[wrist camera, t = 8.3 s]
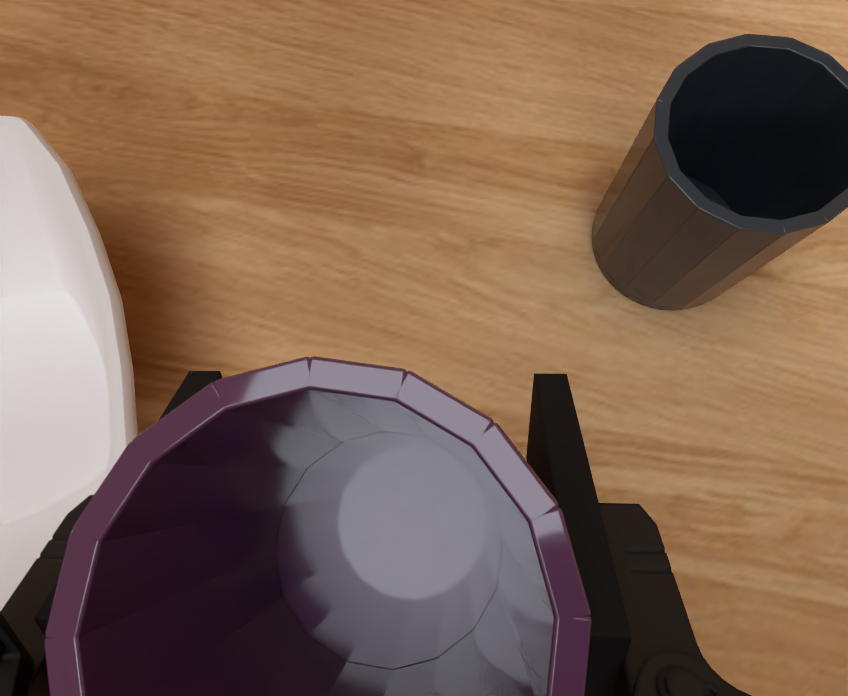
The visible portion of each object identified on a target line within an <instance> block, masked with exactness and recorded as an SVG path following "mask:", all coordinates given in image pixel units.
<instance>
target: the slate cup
mask: <svg viewBox="0 0 848 696" xmlns="http://www.w3.org/2000/svg"><path fill="white" fill-rule="evenodd" d="M847 207H848V71H847V70H846V69H845V68H843V67H842V66H841V65H840V64H839V63H838V62H837V61H836V60H835V59H834V58H833V57H832V56H830V55H829V54H827V53H825V52H823V51H820V50H818V49H816V48H814V47H811V46H809V45H807V44H805V43H802V42H800V41H798V40H796V39H793V38H789V37H779V36H768V35H756V34H744V35H740V36H737V37H733V38H729V39H725V40H721V41H717V42H713V43H710V44H708V45H706V46H704V47H703V48H702V49H700V50H699V51H697V52H696V53H695V54H693V55H692V56H691V57H689V58H688V59H686V60H685V61H684V62H682V63H681V64H680V65H678V66H677V67H676V68H675V69H674V71H673V72H672V74H671V76H670V78H669V79H668V81H667V83H666V84H665V86H664V88H663V90H662V91H661V93H660V95H659V97H658V98H657V100H656V102H655V104H654V106H653V108H652V109H651V111H650V113H649V115H648V117H647V119H646V120H645V122H644V124H643V126H642V128H641V130H640V132H639V133H638V135H637V137H636V139H635V141H634V143H633V144H632V146H631V148H630V150H629V152H628V154H627V155H626V157H625V159H624V161H623V163H622V165H621V167H620V168H619V170H618V172H617V174H616V176H615V178H614V179H613V181H612V183H611V185H610V187H609V189H608V191H607V192H606V194H605V196H604V198H603V200H602V202H601V203H600V205H599V207H598V209H597V212H596V215H595V218H594V222H593V228H592V244H593V250H594V254H595V258H596V260H597V263H598V265H599V267H600V269H601V271H602V272H603V274H604V275H605V277H606V278H607V279H608V281H609V282H610V283H611V284H612V285H613V286H614V287H615V288H616V289H617V290H618V291H620V292H621V293H622V294H623V295H625V296H626V297H628V298H630V299H631V300H633V301H635V302H637V303H639V304H642V305H645V306H648V307H651V308H656V309H661V310H682V309H687V308H692V307H695V306H698V305H701V304H703V303H705V302H708V301H711V300H713V299H714V298H716V297H717V296H719V295H720V294H722V293H723V292H725V291H726V290H728V289H729V288H731V287H732V286H734V285H735V284H737V283H738V282H740V281H741V280H743V279H744V278H746V277H747V276H749V275H750V274H752V273H753V272H755V271H756V270H758V269H759V268H761V267H762V266H764V265H765V264H767V263H768V262H770V261H771V260H773V259H774V258H776V257H777V256H779V255H780V254H782V253H783V252H785V251H786V250H788V249H789V248H791V247H792V246H794V245H795V244H797V243H798V242H800V241H801V240H803V239H804V238H806V237H807V236H808V235H810V234H811V233H813V232H814V231H816V230H817V229H819V228H820V227H822V226H823V225H825V224H826V223H828V222H829V221H831V220H832V219H833V218H834V217H836V216H837V215H838V214H840V213H841V212H842V211H843V210H845V209H846V208H847Z"/></svg>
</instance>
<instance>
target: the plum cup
mask: <svg viewBox="0 0 848 696" xmlns="http://www.w3.org/2000/svg"><path fill="white" fill-rule="evenodd" d="M132 441H133V442H130V443H129V444H128V445H127V447H126V448H125V450H124V451H123V453H122V454H121V456H120V457H119V459H118V460H117V462H116V463H115V465H114V466H113V468H112V469H111V471H110V472H109V474H108V475H107V477H106V478H105V480H104V481H103V483H102V484H101V486H100V487H99V488H98V490H97V491H96V493H95V494H94V496H93V497H92V499H91V500H90V502H89V503H88V505H87V506H86V508H85V509H84V511H83V512H82V514H81V515H80V517H79V518H78V520H77V521H76V523H75V524H74V526H73V531H71V533H70V535H69V539H68V543H67V547H66V551H65V555H64V559H63V563H62V567H61V571H60V575H59V579H58V583H57V587H56V591H55V595H54V599H53V603H52V607H51V611H50V615H49V619H48V623H47V627H46V631H45V637H46V639H45V641H44V647H45V656H46V665H47V675H48V684H49V693H50V696H585V692H586V681H587V669H588V658H589V647H590V636H591V625H592V620H591V617H590V615H591V609H590V606H589V602H588V599H587V596H586V592H585V589H584V585H583V582H582V578H581V575H580V571H579V568H578V564H577V561H576V557H575V554H574V550H573V547H572V544H571V540H570V537H569V533H568V530H567V526H566V523H565V519H564V516H563V512H562V510H561V508H560V507H558V506H559V505H558V502H557V501H556V499H555V498H554V497H553V495H552V494H551V493H550V491H549V490H548V489H547V488H546V486H545V485H544V484H543V482H542V481H541V480H540V478H539V477H538V476H537V475H536V473H535V472H534V471H533V469H532V468H531V467H530V465H529V464H528V463H527V461H526V460H525V459H524V458H523V456H522V455H521V454H520V452H519V451H518V450H517V448H516V447H515V446H514V445H513V443H512V442H511V441H510V439H509V438H508V437H507V435H506V434H505V433H504V432H503V430H502V429H501V428H500V426H499V425H498V424H497V423H495V422H494V423H493V420H492V419H491V418H490V417H488V416H486V415H485V414H483V413H481V412H480V411H478V410H476V409H475V408H473V407H471V406H469V405H468V404H466V403H464V402H463V401H461V400H459V399H457V398H456V397H454V396H452V395H451V394H449V393H447V392H446V391H444V390H442V389H440V388H439V387H437V386H435V385H434V384H432V383H430V382H428V381H427V380H425V379H423V378H422V377H420V376H418V375H417V374H415V373H413V372H411V371H406V370H405V369H402V368H395V367H387V366H380V365H373V364H366V363H359V362H351V361H344V360H337V359H330V358H322V357H315V356H314V357H311V358H310V357H303V358H299V359H295V360H291V361H288V362H284V363H280V364H276V365H272V366H268V367H264V368H260V369H256V370H252V371H249V372H245V373H241V374H237V375H233V376H229V377H225V378H221V379H218V380H216V381H215V382H212V383H210V384H209V385H207V386H206V387H204V388H203V389H202V390H200V391H199V392H197V393H196V394H195V395H193V396H192V397H190V398H189V399H188V400H186V401H185V402H184V403H182V404H181V405H179V406H178V407H177V408H175V409H174V410H172V411H171V412H170V413H168V414H167V415H165V416H164V417H163V418H161V419H160V420H158V421H157V422H156V423H154V424H153V425H152V426H150V427H149V428H147V429H146V430H145V431H143V432H142V433H140V434H139V435H138V436H136V437H135V438H134V439H133V440H132Z"/></svg>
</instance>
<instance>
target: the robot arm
mask: <svg viewBox="0 0 848 696" xmlns="http://www.w3.org/2000/svg"><path fill="white" fill-rule="evenodd" d="M221 378H222V377H221V373H220V371H189V373H188V374H187V376H186V378H185V379H184V381H183V382H182V384H181V386H180V387H179V389H178V390H177V392H176V394H175V395H174V397H173V398H172V400H171V401H170V403H169V405H168V406H167V408H166V409H165V411H164V413H163V414H162V416H161V417H160V419H161V418H163V417H164V416H165V415H167V414H168V413H170V412H171V411H172V410H174V409H175V408H177V407H178V406H179V405H181V404H182V403H184V402H185V401H186V400H188V399H189V398H190V397H192V396H193V395H195V394H196V393H197V392H199V391H200V390H202V389H203V388H204V387H206V386H207V385H209V384H210V383H212V382H215V381H216V380H218V379H221ZM160 419H159V420H160ZM526 459H527V463H528V464H529V465H530V467H531V468H532V469H533V471H534V472H535V473H536V475H537V476H538V477H539V478H540V480H541V481H542V482H543V484H544V485H545V486H546V488H547V489H548V490H549V491H550V493H551V494H552V495H553V497H554V498H555V499H556V501H557V502H558V505H559V506H558V507H560V508H561V510H562V512H563V516H564V519H565V523H566V526H567V530H568V533H569V537H570V540H571V544H572V547H573V550H574V554H575V557H576V561H577V564H578V568H579V571H580V575H581V578H582V582H583V585H584V589H585V592H586V596H587V599H588V602H589V606H590V609H591V615H590V617H591V620H592V625H591V636H590V647H589V658H588V669H587V681H586V692H585V696H751V695H749V694H747V693H745V692H742V691H740V690H738V689H736V688H735V687H733V686H732V685H730V684H729V683H727V682H726V681H724V680H723V679H722V678H721V677H720V676H719V675H718V674H717V673H716V672H715V671H714V670H713V669H712V668H711V667H710V666H709V664H708V663H707V662H706V660H705V659H704V658H703V656H702V654H701V652H700V649H699V647H698V645H697V643H696V640H695V637H694V634H693V631H692V628H691V625H690V622H689V619H688V616H687V613H686V610H685V607H684V604H683V601H682V598H681V595H680V592H679V589H678V586H677V584H676V581H675V578H674V575H673V573H672V572H671V566H670V563H669V560H668V557H667V554H666V553H665V551H664V549H665V548H664V545H663V542H662V539H661V536H660V533H659V530H658V527H657V525H656V523H655V522H654V521H653V520H652V519H651V517H650V516H649V515H648V514H647V513H646V512H645V510H644V509H643V508H642V507H641V506H640V504H619V503H598V499H597V495H596V491H595V486H594V482H593V478H592V474H591V470H590V466H589V462H588V458H587V454H586V450H585V446H584V442H583V438H582V434H581V430H580V426H579V422H578V418H577V414H576V410H575V406H574V402H573V398H572V394H571V390H570V386H569V382H568V378H567V374H534V381H533V392H532V403H531V414H530V425H529V435H528V446H527V457H526ZM93 496H94V495H89V496H88V497H87V498H86V499H85V500H83V501H82V502H81V503H80V504H79V505H77V506H76V507H75V508H74V509H73V510H71V511H70V512H69V513H68V514H67V515H66V517H65V518H64V520H63V521H62V522H61V524H60V525H59V527H58V528H57V530H56V531H55V533H54V534H53V536H52V537H53V538H52V540H49V541H48V543H47V544H46V546H45V547H44V549H43V550H42V552H41V553H40V558H37V559H36V560H35V562H34V563H33V565H32V566H31V568H30V569H29V571H28V572H27V574H26V575H25V576H24V578H23V579H22V581H21V582H20V584H19V585H18V587H17V588H16V590H15V591H14V593H13V594H12V595H11V597H10V598H9V600H8V601H7V603H6V604H5V606H4V607H3V609H2V610H1V611H0V696H50V693H49V684H48V675H47V665H46V656H45V647H44V641H45V639H46V637H45V631H46V627H47V623H48V619H49V615H50V611H51V607H52V603H53V599H54V595H55V591H56V587H57V583H58V579H59V575H60V571H61V567H62V563H63V559H64V555H65V551H66V547H67V543H68V539H69V535H70V533H71V531H73V526H74V524H75V523H76V521H77V520H78V518H79V517H80V515H81V514H82V512H83V511H84V509H85V508H86V506H87V505H88V503H89V502H90V500H91V499H92V497H93Z"/></svg>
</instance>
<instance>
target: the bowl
mask: <svg viewBox="0 0 848 696" xmlns="http://www.w3.org/2000/svg"><path fill="white" fill-rule="evenodd" d="M136 436H138V433H137V417H136V402H135V387H134V371H133V365H132V359H131V353H130V346H129V340H128V334H127V328H126V321H125V315H124V309H123V303H122V298H121V295H120V292H119V289H118V286H117V283H116V280H115V277H114V274H113V271H112V268H111V265H110V262H109V259H108V256H107V253H106V250H105V247H104V244H103V241H102V238H101V235H100V232H99V230H98V228H97V226H96V224H95V221H94V219H93V217H92V215H91V213H90V210H89V208H88V206H87V204H86V201H85V199H84V197H83V195H82V193H81V190H80V188H79V186H78V184H77V182H76V179H75V177H74V175H73V173H72V171H71V170H70V168H69V167H68V166H67V165H66V163H65V162H64V161H63V160H62V159H61V157H60V156H59V155H58V154H57V152H56V151H55V150H54V149H53V147H52V146H51V145H50V144H49V142H48V141H47V140H46V139H45V137H44V136H43V135H42V134H41V133H40V131H39V130H38V129H37V128H36V127H35V126H34V125H32V124H31V123H30V122H29V121H27V120H26V119H23V118H19V117H13V116H0V611H1V610H2V609H3V607H4V606H5V604H6V603H7V601H8V600H9V598H10V597H11V595H12V594H13V593H14V591H15V590H16V588H17V587H18V585H19V584H20V582H21V581H22V579H23V578H24V576H25V575H26V574H27V572H28V571H29V569H30V568H31V566H32V565H33V563H34V562H35V560H36V559H37V558H40V553H41V552H42V550H43V549H44V547H45V546H46V544H47V543H48V541H49V540H52V538H53V537H52V536H53V534H54V533H55V531H56V530H57V528H58V527H59V525H60V524H61V522H62V521H63V520H64V518H65V517H66V515H67V514H68V513H69V512H70V511H71V510H73V509H74V508H75V507H76V506H77V505H79V504H80V503H81V502H82V501H83V500H85V499H86V498H87V497H88V496H89V495H94V494H95V493H96V491H97V490H98V488H99V487H100V486H101V484H102V483H103V481H104V480H105V478H106V477H107V475H108V474H109V472H110V471H111V469H112V468H113V466H114V465H115V463H116V462H117V460H118V459H119V457H120V456H121V454H122V453H123V451H124V450H125V448H126V447H127V445H128V444H129V443H130V442H133V441H132V440H133V439H134V438H135V437H136Z"/></svg>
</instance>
